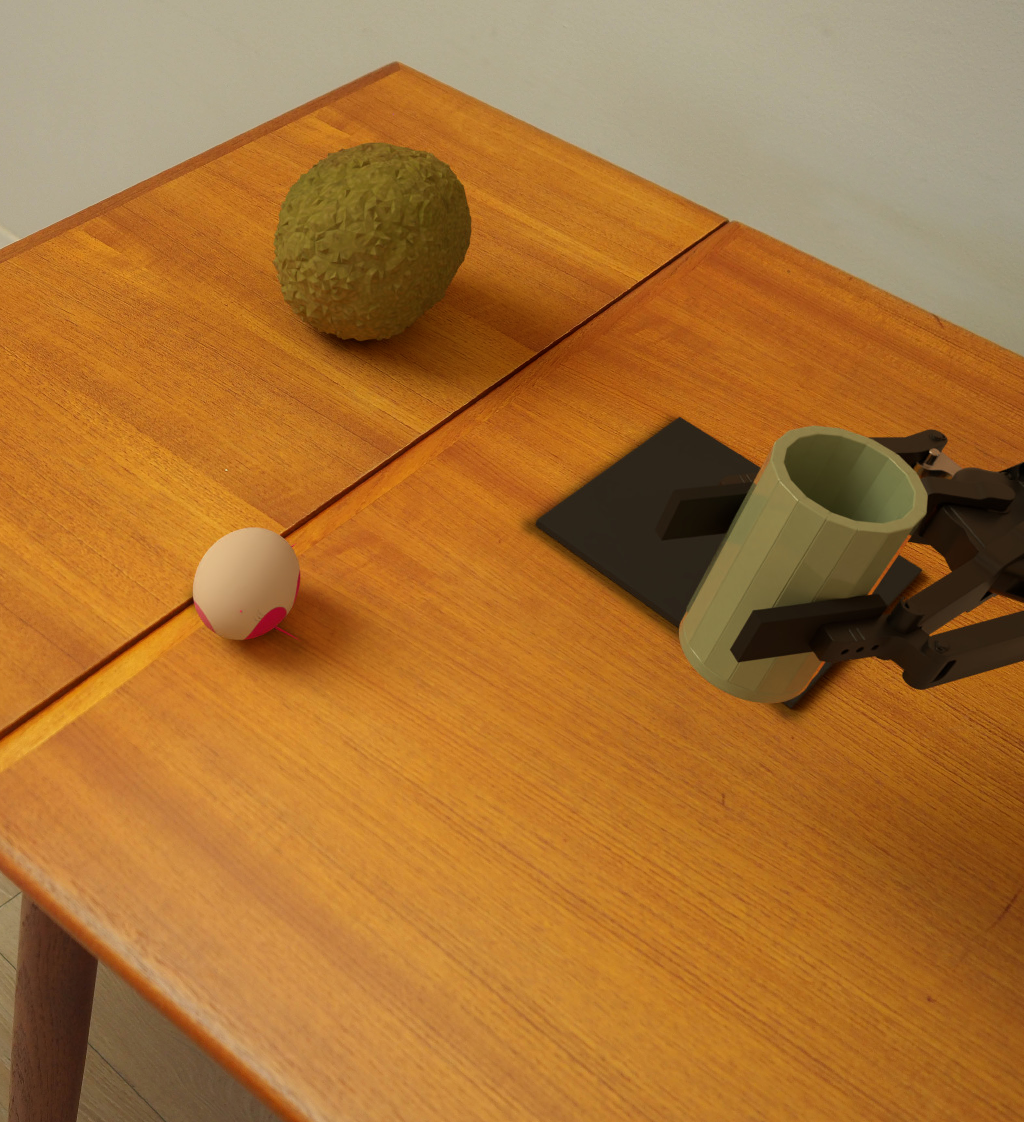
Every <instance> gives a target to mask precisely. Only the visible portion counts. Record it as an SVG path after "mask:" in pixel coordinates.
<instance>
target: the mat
mask: <svg viewBox="0 0 1024 1122" xmlns="http://www.w3.org/2000/svg"><path fill="white" fill-rule="evenodd" d="M760 469H761V467H760V466H759V465H757V464H756V463H754V462H753V461H751V460H750V459H748V458H746V457H745V456H743V455H741V454H740V453H738V452H737V451H735V450H734V449H732V448H731V447H729V446H727V445H726V444H724V443H722V442H721V441H719V440H717V439H716V438H715V437H713V436H711V435H710V434H708V433H706V432H705V431H704V430H702V429H700V428H699V427H697V426H695V425H694V424H693V423H691V422H689V421H687V420H686V419H685V418H683V417H681V416H679V417H677V418H676V419H674V420H673V421H672V422H670V423H668V424H667V425H666V426H665V427H663V428H662V429H660V430H658V431H657V432H656V433H655V434H654V435H652V436H651V437H650V438H648V439H647V440H645V441H643V442H642V443H641V444H639V445H638V446H637V447H635V448H634V449H632V451H630V452H628V453H627V454H626V455H624V456H623V457H622V458H620V459H619V460H617V461H616V462H615V463H613V464H612V465H611V466H609V467H608V468H607V469H605V470H603V471H602V472H600V473H599V474H598V475H596V476H595V477H593V478H592V479H591V480H590V481H588V482H586V483H585V484H584V485H583V486H581V487H580V488H579V489H577V490H576V491H574V492H573V493H572V494H571V495H569V496H567V497H566V498H565V499H563V500H562V501H560V502H559V503H558V504H557V505H555V506H554V507H552V508H551V509H549V510H547V512H545V513H544V514H543V515H541V516H540V517H538V518H537V519H536V521H535V523H534V525H535V527H537V528H538V529H540V531H542V532H544V533H545V534H547V535H548V536H549V537H551V538H552V539H554V540H555V541H557V543H559V544H561V545H562V546H563V547H565V548H566V549H567V550H569V551H570V552H571V553H573V554H575V555H576V556H577V557H579V558H580V559H581V560H583V561H584V562H586V563H587V564H588V565H590V566H591V567H592V568H594V569H595V570H597V571H598V572H600V573H601V574H603V575H604V576H605V577H606V578H608V579H609V580H611V581H612V582H614V583H615V584H616V585H618V587H621V588H622V589H623V590H624V591H626V592H627V593H629V594H630V595H632V596H633V597H635V598H636V599H637V600H639V601H640V602H641V603H643V604H644V605H646V606H647V607H648V608H649V609H651V610H653V611H654V612H655V613H656V614H658V615H660V616H661V617H662V618H663V619H665V620H667V622H669V623H671V624H672V625H673V626H675V627H676V628H678V629H679V627H680V623H681V620H682V618H683V616H684V614H685V612H686V609H687V606H688V604H689V602H690V600H691V599H692V597H693V595H694V593H695V591H696V589H697V587H698V585H699V583H700V582H701V580H702V578H703V576H704V574H705V572H706V570H707V568H708V567H709V565H710V563H711V561H712V559H713V557H714V555H715V553H716V552H717V550H718V548H719V546H720V544H721V542H722V540H723V538H724V537H725V535H726V533H725V534H716V535H707V536H698V537H690V538H681V539H672V540H663V541H661V539H660V538H659V536H658V534H657V533H656V531H655V528H656V526H657V524H658V522H659V519H660V517H661V515H662V513H663V511H664V509H665V507H666V505H667V503H668V500H669V498H670V496H671V494H672V492H673V490H676V489H686V488H696V487H705V486H715V485H719V483H720V481H721V479H723V478H725V477H727V476H731V475H741V474H745V475H746V474H751V473H759V471H760ZM922 572H923V569H922V568H921V567H919V566H918V565H917V564H915V563H913V562H911V561H910V560H908V559H907V558H905V557H904V556H901V555H900V554H899V555H898V556H897V558H896V559H895V561H894V562H893V564H892V565H891V567H890V568H889V570H888V571H887V573H886V574H885V575H884V577H883V578H882V580H881V581H880V583H879V584H878V586H877V587H876V589H875V590H874V592H873V593H872V594H879V595H880V596H881V598H882V599H883V600H884V602H885V603H886V604H887V606H888V607H887V608H886V610H887V609H889V607H891V605H892V604H893V603H894V602H896V600H897V599H898V598H899V597H900V596H901V594H903V593H904V592H905V591H906V589H907V588H908V587H910V585H911V584H912V583H913V582H914V581H915V580H916V579H917V578H918V577H919V576H920V575H921V573H922ZM872 594H871V595H872ZM836 663H837V662H834V663H829V662H825V663H824V665H823V666H822V668H821V669H820V671H819V672H818V673H817V675H816V676H815V677H814V678H813V679H812V680H811V682H810V683H809V685H808V686H807V688H806V689H805V690H804V691H803V692H802V693H801V694H800V695H798V696H796V697H795V698H793V699H790V700H787V701H784V702H781V703H782V704H784V705H785V706H787V707H788V708H789V709H793V708H794V707H795V706H796V705H797V704H798V703H799V702H800V700H802V699H803V698H804V696H805V695H806V694H808V692H809V691H810V690H811V689H812V688H813V687H814V686H815V685H816V684H817V683H818V682H819V681H820V680H821V679H822V677H824V676H825V674H826V673H827V672H828V671H830V669H831V668H832V667H833V666H834V665H835V664H836Z"/></svg>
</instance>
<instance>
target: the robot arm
mask: <svg viewBox="0 0 1024 1122" xmlns="http://www.w3.org/2000/svg"><path fill="white" fill-rule="evenodd" d="M867 437H868V438H870V439H872V440H874V441H876V442H878V443H879V444H881V445H883V446H884V447H886V448H888V449H889V450H891V451H893V452H894V453H896V454H898V455H899V456H900V457H901V458H902V459H903V460H904V461H905V462H906V463H907V464H908V465H909V466H910V467H911V468H912V469H913V470H914V471H915V472H916V473H917V475H918V476H919V478H920V480H921V482H922V484H923V486H924V488H925V490H926V492H927V495H928V500H927V513H926V515H925V517H924V518H923V520H922V521H921V523H920V524H919V526H918V527H917V529H916V530H915V532H914V533H913V535H912V536H911V537H910V539H909V540H908V542H907V543H911V544H918V545H924V546H930V547H931V548H932V549H934V550H935V551H936V552H937V553H938V554H940V555H941V556H942V557H943V558H944V560H945V562H946V564H947V567H948V568H949V570H950V571H951V572H949V573H947V574H946V575H944V576H943V577H941V578H939V579H938V580H936V581H935V582H933V583H932V584H929V585H928V586H927V587H925V588H924V589H922V590H920V591H919V592H917V593H915V594H914V595H912V596H911V597H909V598H907V599H906V600H905V598H906V597H905V596H904V595H903V596H901V598H899V600H898V602H897V603H896V605H895V606H894V608H893V609H892V610H891V611H890V613H888V614H886V613H885V612H886V611H887V609H888V608H889V607H888V606H887V604H886V603H885V602H884V600H883V599H882V598H881V596H880V595H879V594H872V595H865V596H857V597H850V598H842V599H835V600H827V601H819V602H812V603H804V604H797V605H789V606H782V607H774V608H767V609H759V610H753V611H752V613H751V615H750V616H749V618H748V620H747V621H746V623H745V625H744V626H743V628H742V630H741V631H740V633H739V635H738V637H737V638H736V640H735V642H734V643H733V645H732V647H731V648H730V651H731V652H732V654H733V656H734V657H735V659H736V660H737V662H745V661H752V660H759V659H766V658H773V657H780V656H787V655H794V654H801V653H808V652H814V653H815V655H816V656H817V658H818V659H819V661H823V662H829V663H834V662H836V663H841V662H848V661H850V660H851V661H855V660H861V659H869V658H873V657H875V658H876V659H878V660H881V661H892V662H893V663H895V664H896V665H897V666H898V667H900V668H901V669H902V672H901V677H902V680H903V681H904V683H905V684H907V686H909V688H913V689H914V690H918V691H924V690H929V689H932V688H935V687H938V686H941V685H945V684H949V683H951V682H952V683H953V682H955V681H959V680H962V679H966V678H970V677H973V676H976V675H980V674H983V673H986V672H990V671H994V670H997V669H1000V668H1004V667H1007V666H1010V665H1014V664H1018V663H1021V662H1024V610H1020V611H1017V612H1012V613H1008V614H1006V615H1002V616H998V617H994V618H990V619H987V620H984V621H979V622H976V623H972V624H969V625H965V626H961V627H958V628H954V629H951V630H947V631H943V632H939V633H935V632H936V631H938V630H939V629H941V628H942V627H944V626H945V625H947V624H949V623H950V622H951V621H953V620H954V619H956V618H957V617H959V616H961V615H963V613H967V614H968V613H970V612H972V611H973V610H975V609H977V607H980V606H981V605H982V604H984V603H986V602H988V601H989V600H990V599H992V598H996V597H997V596H1000V597H1003V598H1007V599H1009V600H1012V601H1015V602H1019V603H1021V604H1024V461H1022V462H1019V463H1017V464H1015V465H1012V466H1010V467H1007V468H1005V469H1002V470H999V471H995V470H994V471H993V470H989V469H983V468H979V467H974V466H970V467H963V468H962V466H961V465H959V464H958V463H957V462H955V461H954V460H953V459H951V458H950V457H949V456H948V455H947V454H946V453H944V452H943V450H944V449H945V447H946V446H947V444H948V441H949V440H948V437H947V436H946V435H945V434H944V433H943V432H941V431H939V430H936V429H932V428H931V429H925V430H922V431H920V432H917V433H914V434H911V435H907V436H867ZM757 474H758V473H751V474H746V475H745V474H741V475H731V476H727V477H725V478H723V479H721V481H720V483H719V485H715V486H705V487H696V488H686V489H676V490H673V492H672V494H671V496H670V498H669V500H668V503H667V505H666V507H665V509H664V511H663V513H662V515H661V517H660V519H659V522H658V524H657V526H656V528H655V531H656V533H657V534H658V536H659V538H660V539H661V541H663V540H672V539H681V538H690V537H698V536H707V535H716V534H725V533H727V531H728V529H729V527H730V525H731V523H732V521H733V520H734V518H735V516H736V514H737V512H738V510H739V508H740V506H741V505H742V503H743V501H744V499H745V497H746V495H747V493H748V491H749V490H750V488H751V486H752V484H753V482H754V480H755V478H756V476H757ZM887 607H888V608H887ZM886 608H887V609H886ZM884 613H885V614H884ZM933 633H935V634H933ZM931 634H932V635H931Z"/></svg>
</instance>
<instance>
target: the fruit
mask: <svg viewBox="0 0 1024 1122" xmlns="http://www.w3.org/2000/svg"><path fill="white" fill-rule="evenodd" d="M465 190H466V189H465V186H464V184H463V183H462V182H461V180H460V179H458V176H457V174H456V173H455V172H454V170H452V169H451V165H450V164H448V163H446V162H445V161H443V160H440V159H439V158H438V157H437V156H435V154H434V153H433V152H428V151H427V150H415V149H413V148H410V147H406V146H398V145H394V144H391V143H387V142H365V143H361V144H359V145H355V146H351V147H349V148H341V149H339V150H338V151H336V152H328V153H327V156H326V157H325V158H323V159H319V160H318V161H317V163H316V164H315V163H314V164H313V165H312V167H311V168H309V169H308V171H307V173H302V174H301V173H300V177H299V178H298V179H297V180H296V182H294V183H293V184H291V186H290V187H289V191H287V194H286V195H285V200H283V201H282V202H281V205H280V208H281V210H280V211H279V213H278V215H277V216H278V223H277V225H276V230H275V233H274V234H273V235H274V240H273V246H274V248H275V249H274V250H273V253H274V255H275V258H274V259H273V260H272V261H271V262H272V265H273V266H274V268H275V269H276V272H277V275H276V278H277V280H278V281H279V283H278V284H280V291H281V294H282V296H283V301H284V302H285V303H286V304H288V305H289V306H290V308H291V310H292V312H293V314H295V315H297V316H299V317H300V318H301V322H302V323H308V324H310V326H312V327H313V328H316V329H317V331H318V333H326V334H327V335H329V334H332V335H335V336H336V337H337V338H338V339H342V340H343V341H345V340H350V339H355V340H356V341H358V342H363V341H368V340H374V339H375V340H377V341H382V340H383V339H386V340H390V339H391V338H392V336H397V335H401V334H402V333H403V332H405V330H406V329H407V328H410V327H411V326H412V325H413V324H414V323H415V322H416V321H417V320H418V319H421V317H422V316H424V315H425V313H426V312H428V311H429V310H431V309H433V307H434V306H435V305H436V304H438V303H439V302H441V301H442V300H443V299H444V298H445V297H446V292H447V290H448V288H449V286H451V284H452V281H453V279H454V278H455V276H456V274H457V273H458V271H459V268H460V267H461V266H462V264H463V263H464V261H465V259H466V255H467V253H468V250H469V247H470V245H471V237H472V216H471V210H470V207H469V204H468V199H467V194H466V191H465Z"/></svg>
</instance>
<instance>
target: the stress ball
mask: <svg viewBox="0 0 1024 1122" xmlns="http://www.w3.org/2000/svg"><path fill="white" fill-rule="evenodd" d="M294 546H296V543H294V544H292V545H291V544H290V543H289V542H288V541H287V539H285V538H284V537H283V536H281V534H278V532H275V531H273V530H270V529H268V528H263V527H256V526H255V527H253V526H252V527H244V528H240V529H237V530H236V529H235V530H234V531H231V532H229V533H227V534H225V535H224V536H221V538H219V539H218V540H217V541H215V542H214V543H213V544H212V545H211V546H210V547H209V548H208V549H207V551H206V552H205V553H204V555H203V556H202V558H201V560H200V561H199V563H198V566H197V568H196V571H195V574H194V578H193V584H192V599H193V605H194V607H195V611H196V613H197V615H198V617H199V619H200V620H201V622H202V623H203V624H204V625H205V627H207V628H208V630H210V631H211V632H213V633H214V634H216V635H218V636H219V637H222V638H224V639H227V640H234V641H245V640H251V639H255V638H259V637H261V636H263V635H265V634H267V633H269V632H271V631H272V630H273V629H275V630H277V631H279V632H281V633H284V634H285V635H287V636H289V637H292V638H294V639H296V640H297V641H300V642H302V640H301V639H299V638H297V637H296V636H294V635H293V634H291V633H289V632H288V631H286V630H284V629H282V628H280V627H279V624H280V623H281V622H282V621H283V620H284V619H285V618H286V617H287V616H288V615H289V613H290V611H291V610H292V609H293V607H294V605H295V603H296V600H297V597H298V594H299V592H300V591H299V590H300V586H301V567H300V562H299V559H298V556H297V554H296V552H295V550H294V548H293V547H294Z"/></svg>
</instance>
